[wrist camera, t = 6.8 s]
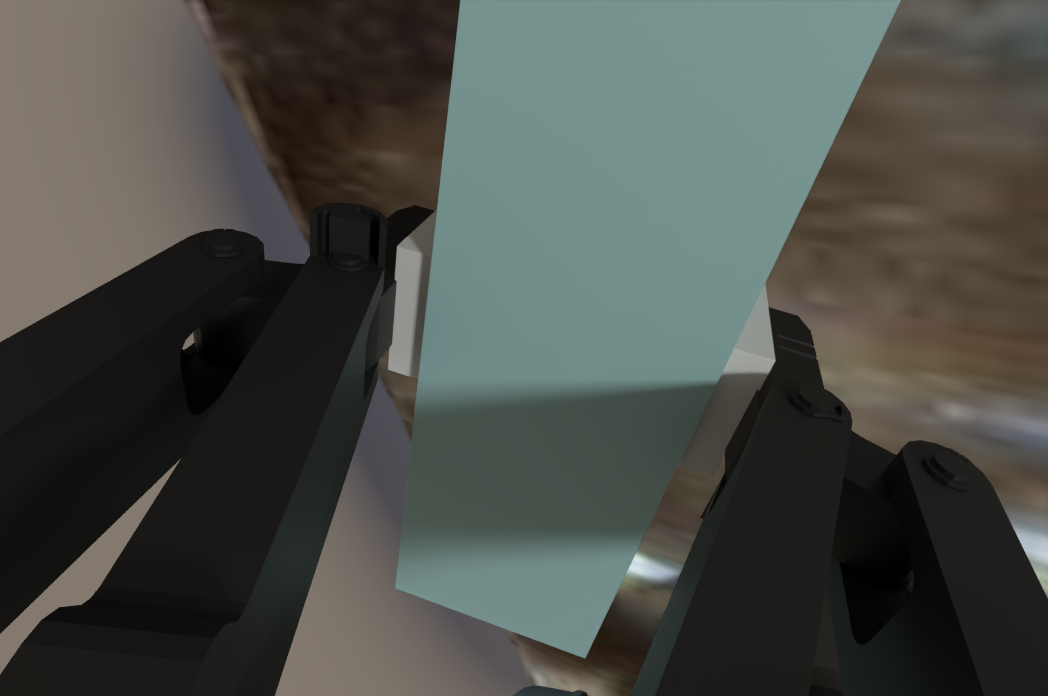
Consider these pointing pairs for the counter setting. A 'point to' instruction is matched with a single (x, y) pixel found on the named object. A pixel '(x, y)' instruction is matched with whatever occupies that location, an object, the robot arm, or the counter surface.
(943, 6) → the counter surface
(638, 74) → the rail
